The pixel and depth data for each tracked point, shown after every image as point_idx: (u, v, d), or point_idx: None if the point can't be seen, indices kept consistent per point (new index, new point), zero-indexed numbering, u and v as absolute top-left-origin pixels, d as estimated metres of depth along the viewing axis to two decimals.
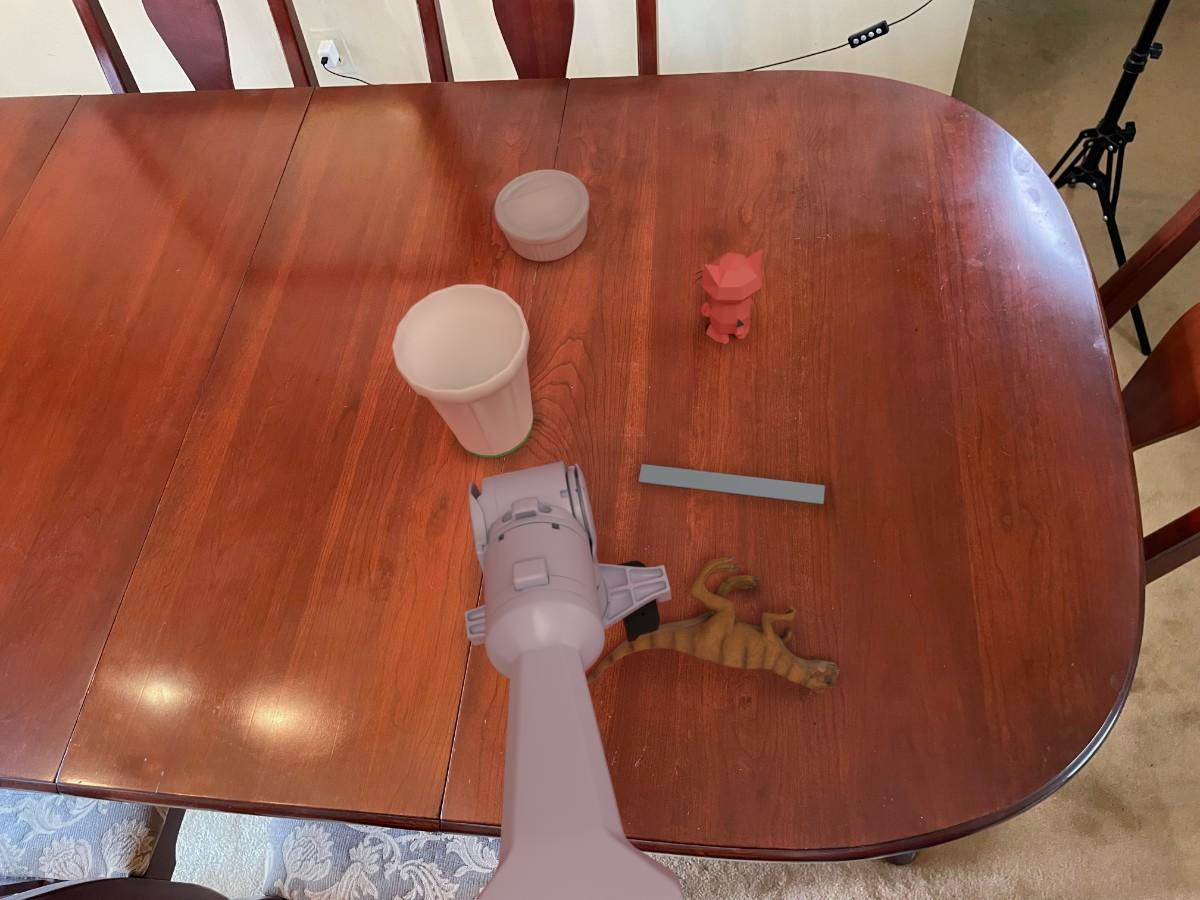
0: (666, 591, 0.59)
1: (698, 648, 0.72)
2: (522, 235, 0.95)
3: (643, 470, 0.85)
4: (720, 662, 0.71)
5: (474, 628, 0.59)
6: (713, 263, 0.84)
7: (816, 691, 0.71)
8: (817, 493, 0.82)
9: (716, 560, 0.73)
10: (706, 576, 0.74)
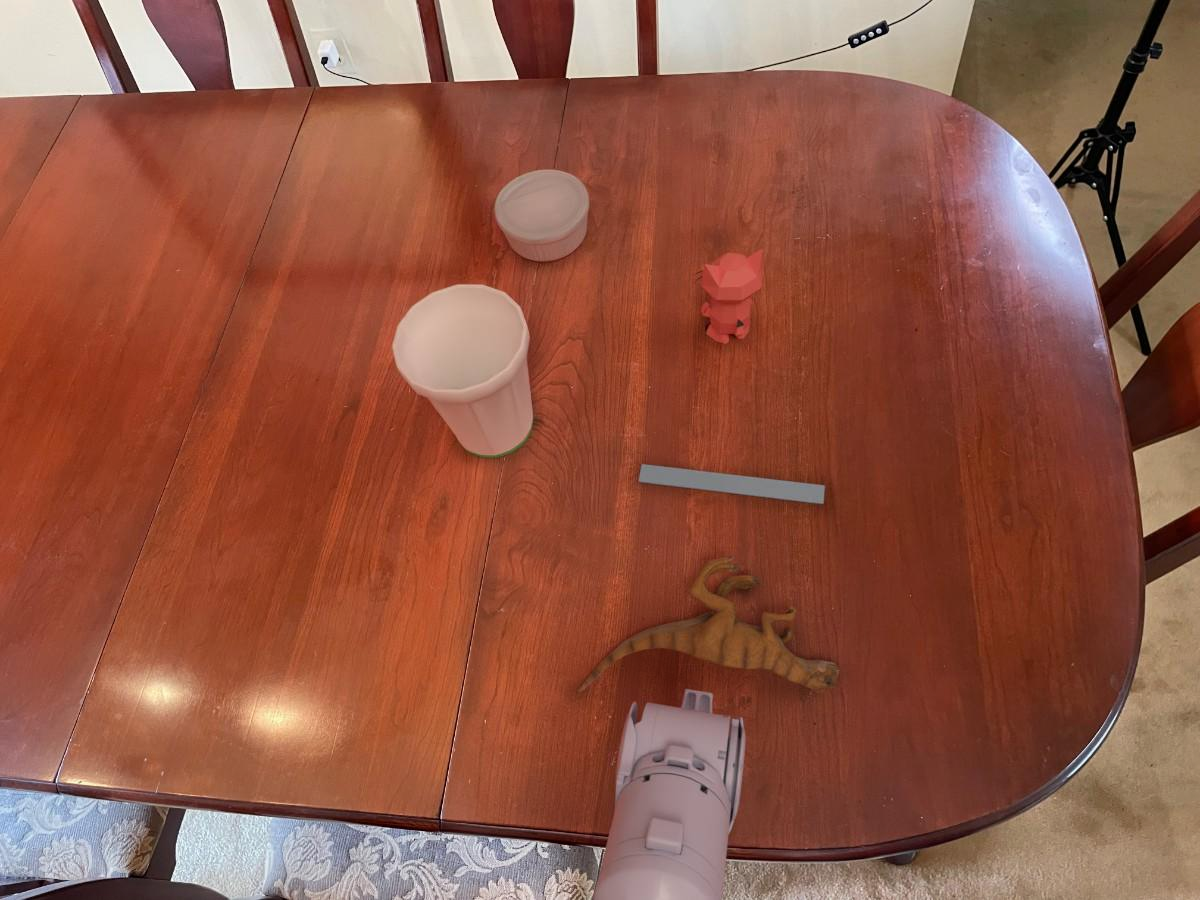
0: (712, 697, 0.61)
1: (698, 648, 0.72)
2: (522, 235, 0.95)
3: (643, 470, 0.85)
4: (720, 662, 0.71)
5: None
6: (713, 263, 0.84)
7: (816, 691, 0.71)
8: (817, 493, 0.82)
9: (716, 560, 0.73)
10: (706, 576, 0.74)
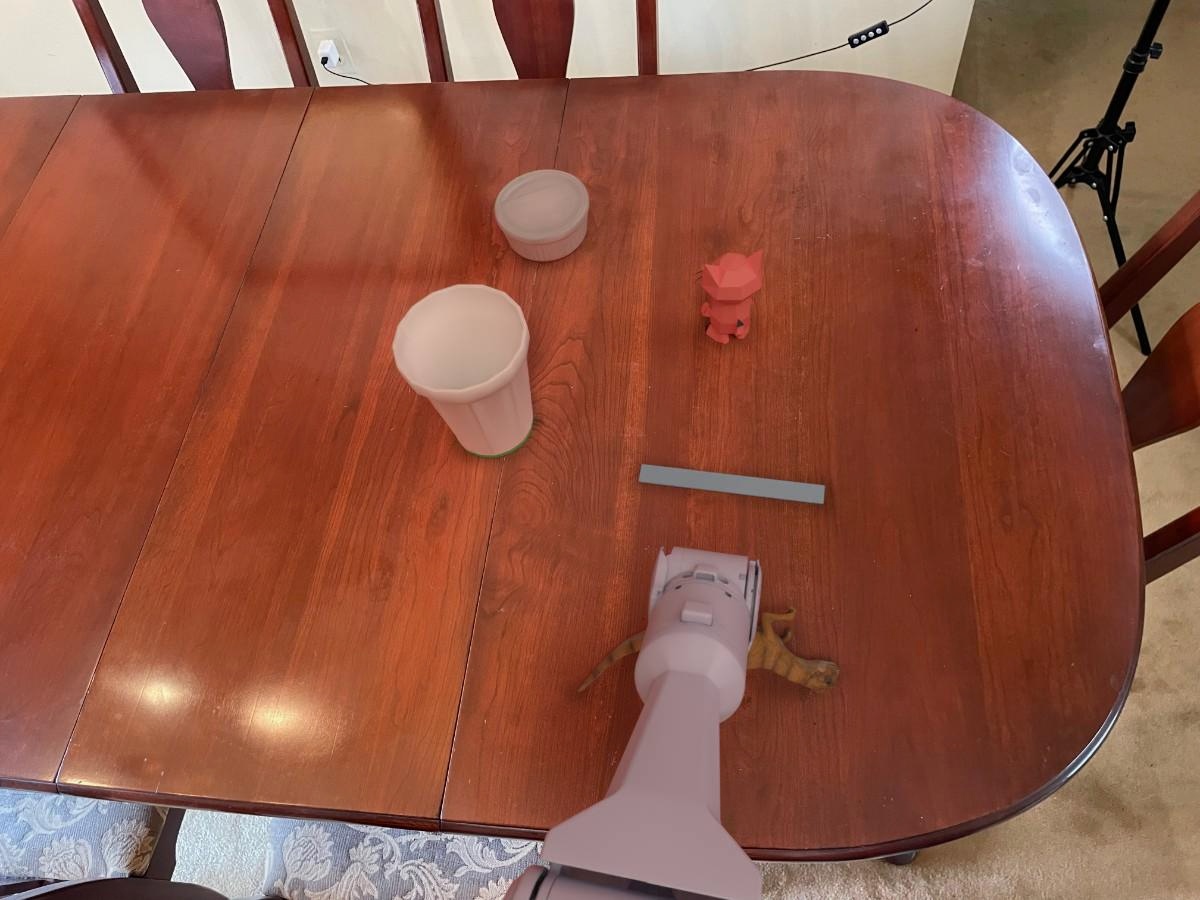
0: None
1: None
2: (522, 235, 0.95)
3: (643, 470, 0.85)
4: None
5: None
6: (713, 263, 0.84)
7: (816, 691, 0.71)
8: (817, 493, 0.82)
9: None
10: None
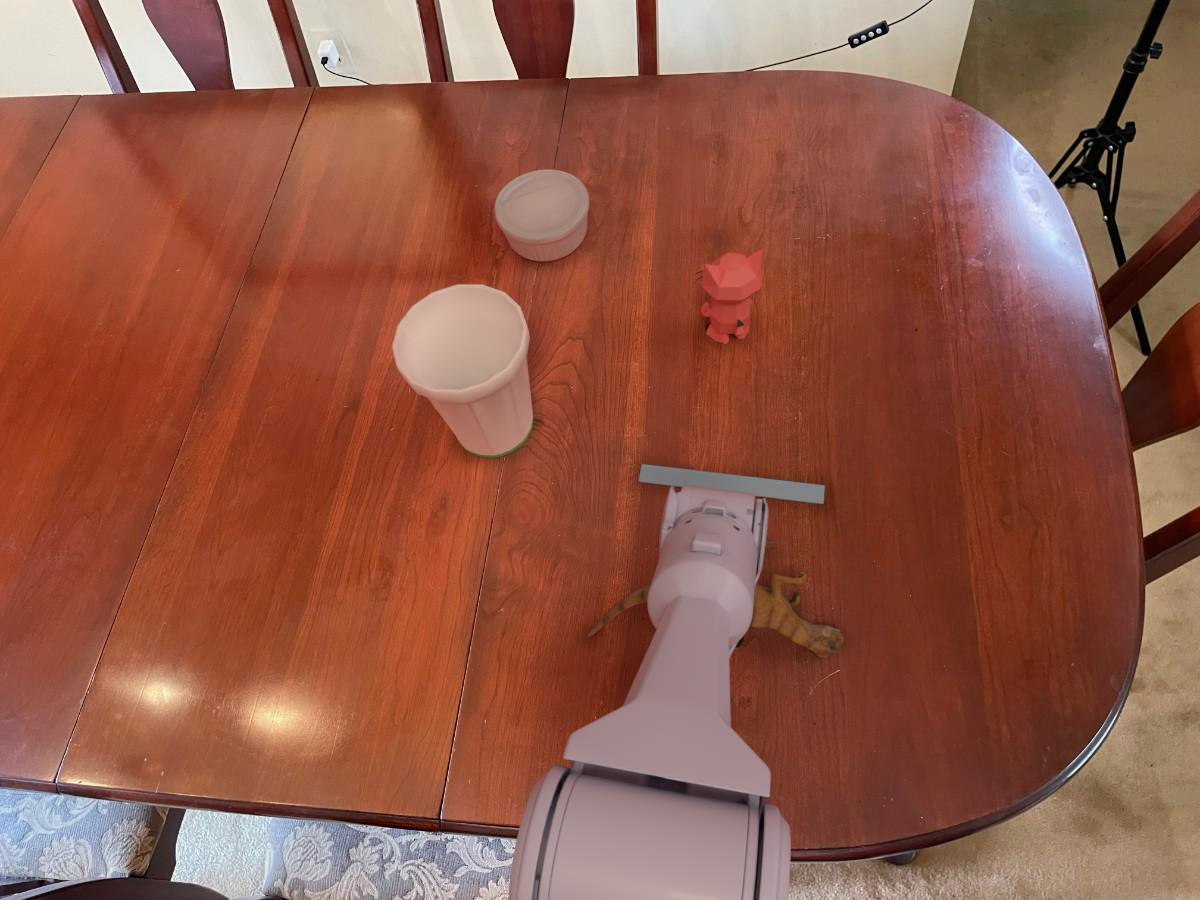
0: None
1: None
2: (522, 235, 0.95)
3: (643, 470, 0.85)
4: None
5: None
6: (713, 263, 0.84)
7: (819, 655, 0.73)
8: (817, 493, 0.82)
9: None
10: None
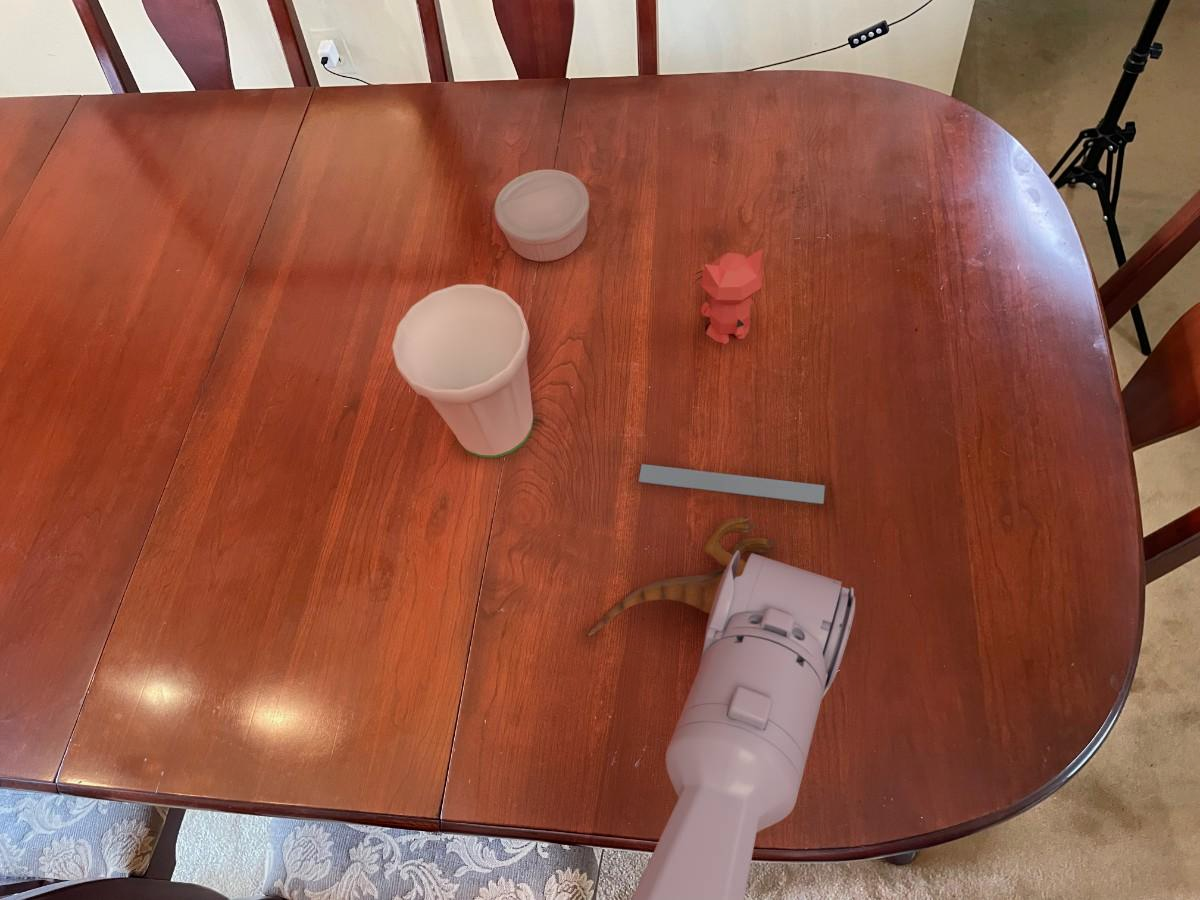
0: None
1: (707, 602, 0.73)
2: (522, 235, 0.95)
3: (643, 470, 0.85)
4: None
5: None
6: (713, 263, 0.84)
7: None
8: (817, 493, 0.82)
9: (732, 519, 0.75)
10: (721, 534, 0.75)
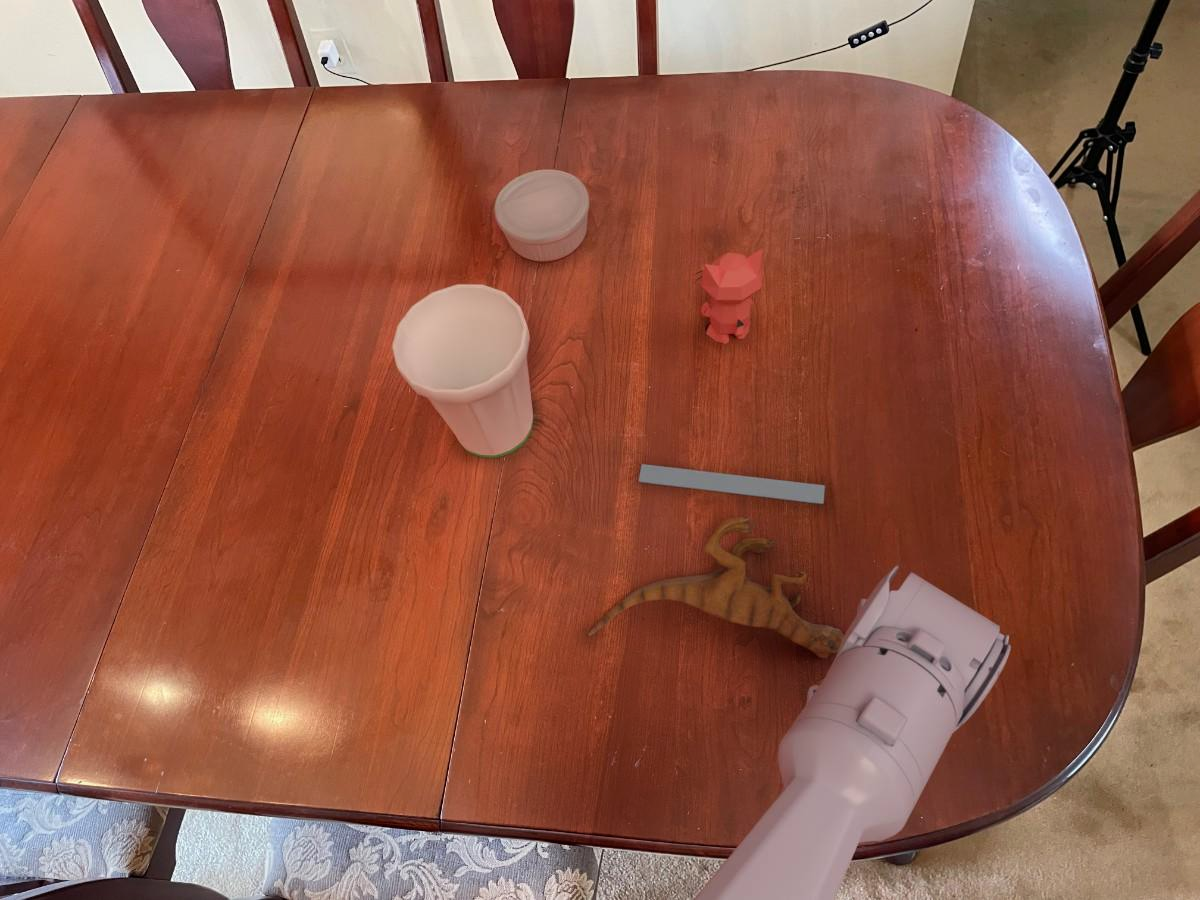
0: None
1: (707, 602, 0.73)
2: (522, 235, 0.95)
3: (643, 470, 0.85)
4: (727, 617, 0.73)
5: None
6: (713, 263, 0.84)
7: (819, 655, 0.73)
8: (817, 493, 0.82)
9: (732, 519, 0.75)
10: (721, 534, 0.75)
